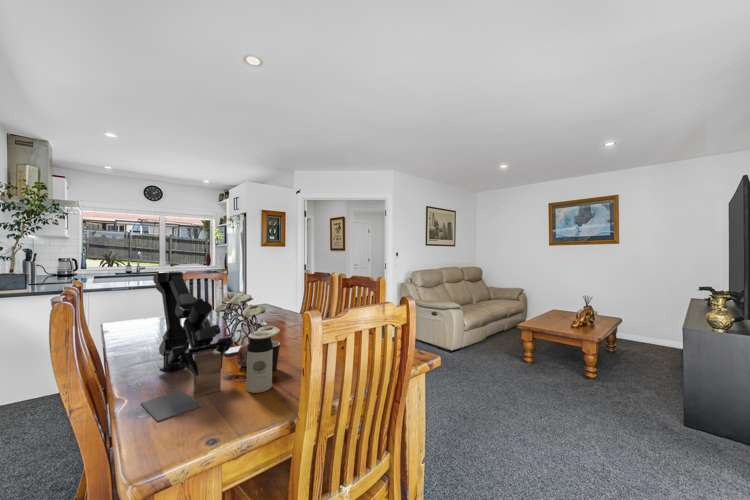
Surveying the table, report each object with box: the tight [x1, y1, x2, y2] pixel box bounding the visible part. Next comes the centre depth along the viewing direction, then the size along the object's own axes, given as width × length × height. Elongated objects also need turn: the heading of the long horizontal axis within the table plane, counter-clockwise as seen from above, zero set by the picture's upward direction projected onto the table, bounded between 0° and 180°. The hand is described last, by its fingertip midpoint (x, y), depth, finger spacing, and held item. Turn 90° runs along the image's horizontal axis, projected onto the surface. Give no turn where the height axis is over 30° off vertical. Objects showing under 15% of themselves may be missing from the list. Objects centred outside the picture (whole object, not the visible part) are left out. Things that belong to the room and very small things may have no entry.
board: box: [192, 350, 222, 397], centre depth 102 cm, size 4×7×12 cm, turn 141°
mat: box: [140, 390, 202, 423], centre depth 92 cm, size 15×11×1 cm
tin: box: [236, 342, 249, 368], centre depth 129 cm, size 15×3×8 cm, turn 168°
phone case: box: [223, 345, 242, 357], centre depth 144 cm, size 9×2×16 cm
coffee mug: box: [271, 340, 281, 373], centre depth 122 cm, size 12×9×10 cm
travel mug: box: [246, 331, 273, 394], centre depth 105 cm, size 8×8×18 cm
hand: (209, 371), depth 101 cm, fingers closed on board, 7 cm apart
